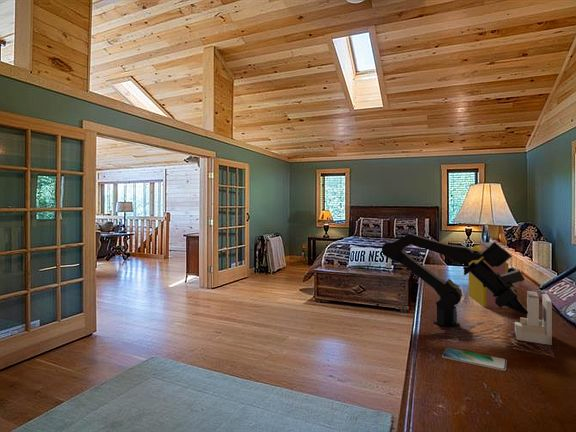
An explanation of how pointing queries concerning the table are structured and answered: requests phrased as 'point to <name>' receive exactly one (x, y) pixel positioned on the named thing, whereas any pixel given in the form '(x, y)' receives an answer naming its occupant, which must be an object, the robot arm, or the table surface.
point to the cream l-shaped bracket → (537, 333)
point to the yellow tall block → (476, 286)
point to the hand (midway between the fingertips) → (526, 313)
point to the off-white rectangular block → (532, 309)
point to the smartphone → (475, 359)
